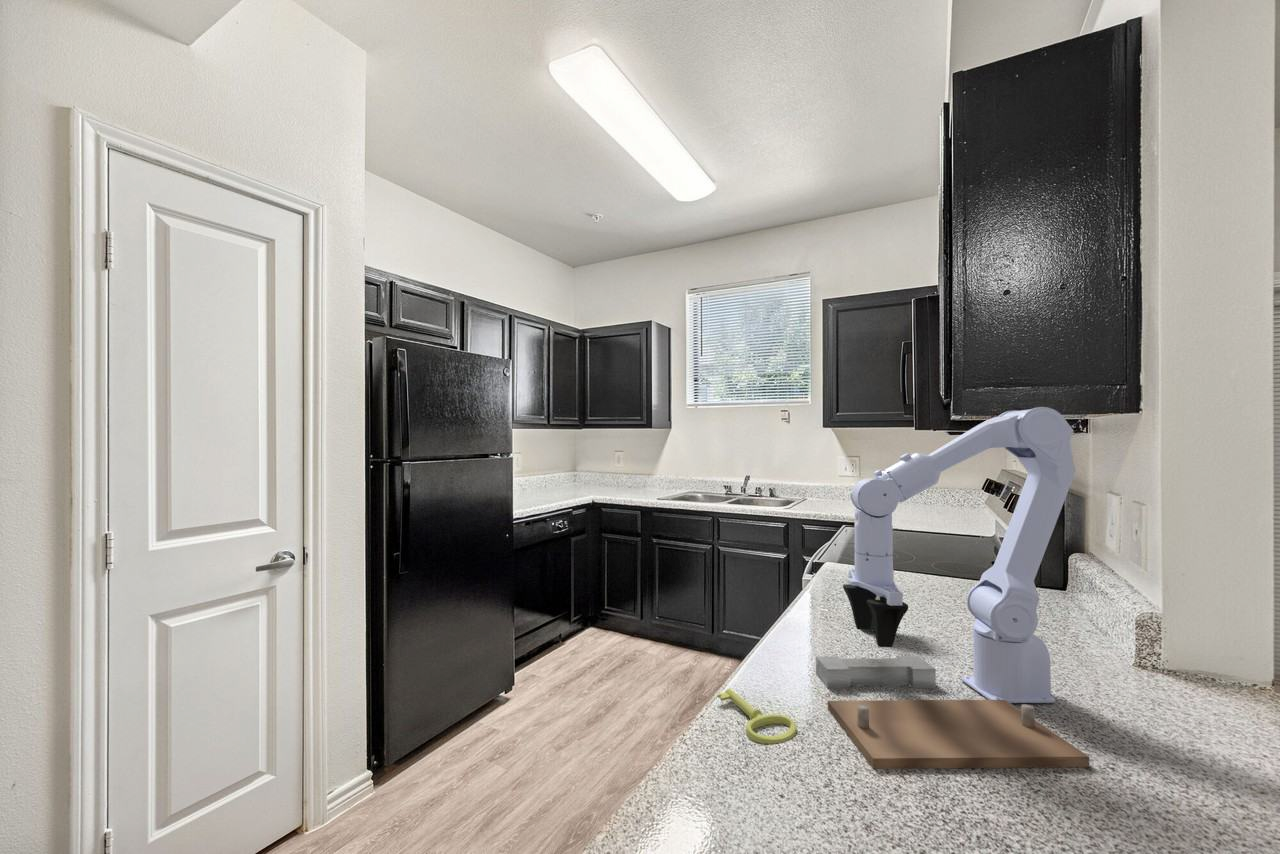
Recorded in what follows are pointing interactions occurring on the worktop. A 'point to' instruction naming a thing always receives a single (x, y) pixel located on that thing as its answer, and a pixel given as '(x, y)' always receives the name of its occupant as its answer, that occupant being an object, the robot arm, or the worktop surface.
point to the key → (760, 720)
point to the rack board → (952, 734)
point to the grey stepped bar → (875, 672)
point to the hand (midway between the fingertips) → (873, 637)
